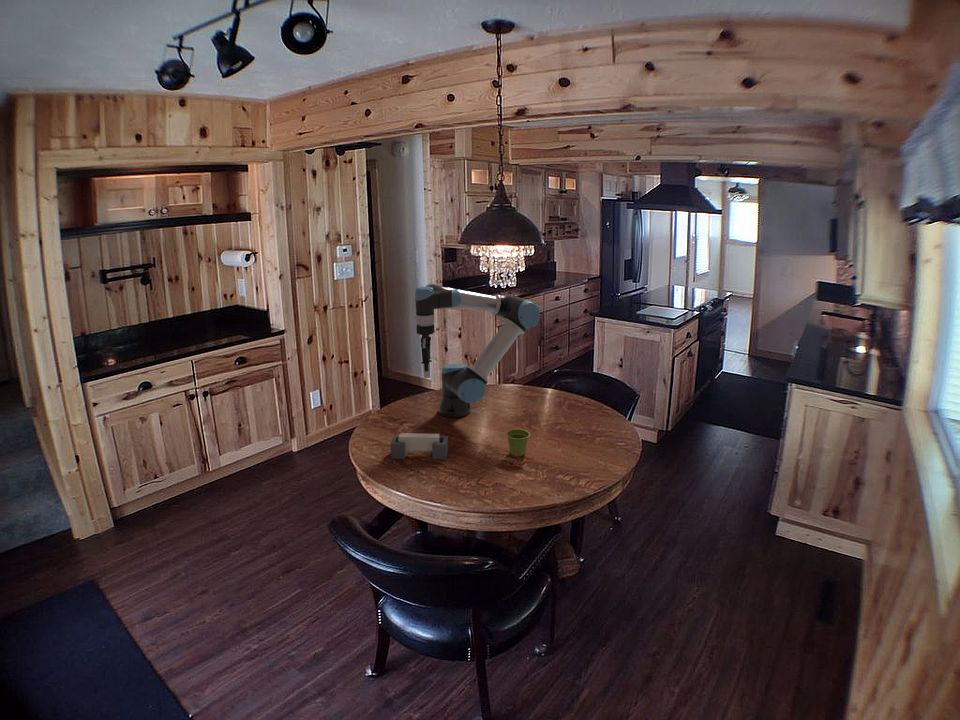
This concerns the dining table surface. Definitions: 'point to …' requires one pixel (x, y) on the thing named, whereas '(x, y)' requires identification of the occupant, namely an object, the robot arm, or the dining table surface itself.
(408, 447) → the light grey long block
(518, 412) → the dining table surface
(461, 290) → the robot arm
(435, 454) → the endcap rack
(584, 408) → the dining table surface
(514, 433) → the plant pot
